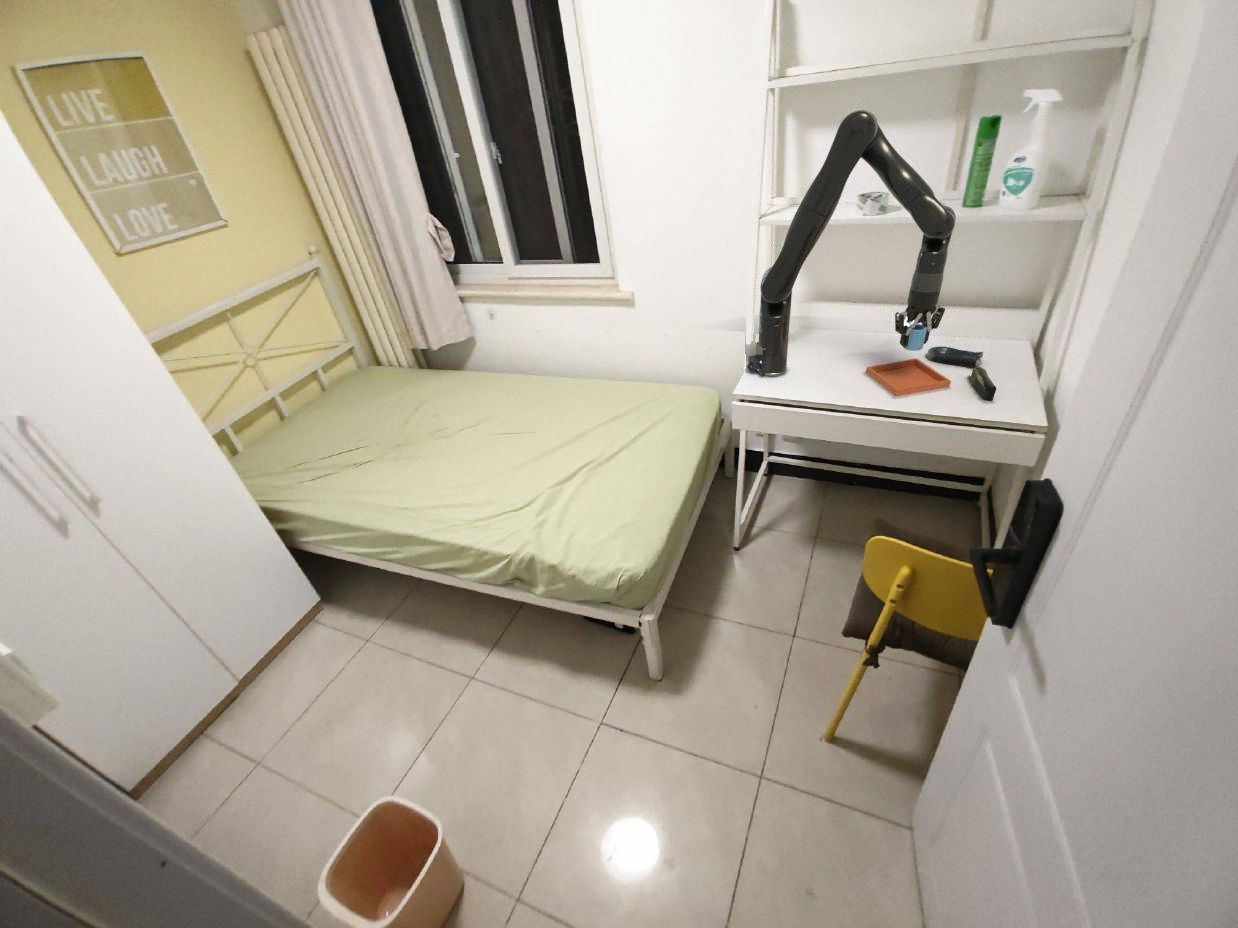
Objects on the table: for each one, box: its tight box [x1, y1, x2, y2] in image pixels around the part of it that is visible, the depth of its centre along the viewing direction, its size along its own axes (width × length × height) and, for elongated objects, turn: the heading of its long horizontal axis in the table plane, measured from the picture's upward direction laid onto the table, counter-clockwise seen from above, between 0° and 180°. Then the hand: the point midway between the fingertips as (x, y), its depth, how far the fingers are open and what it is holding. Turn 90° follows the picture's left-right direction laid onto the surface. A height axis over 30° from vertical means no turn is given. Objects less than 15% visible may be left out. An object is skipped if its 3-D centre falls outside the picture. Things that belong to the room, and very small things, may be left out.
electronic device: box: [926, 345, 984, 368], centre depth 176 cm, size 9×6×15 cm
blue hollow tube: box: [902, 323, 927, 352], centre depth 161 cm, size 5×5×6 cm
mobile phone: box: [967, 366, 997, 402], centre depth 159 cm, size 5×3×15 cm
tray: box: [865, 358, 952, 397], centre depth 169 cm, size 17×17×2 cm
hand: (913, 344), depth 163 cm, fingers closed on blue hollow tube, 5 cm apart
